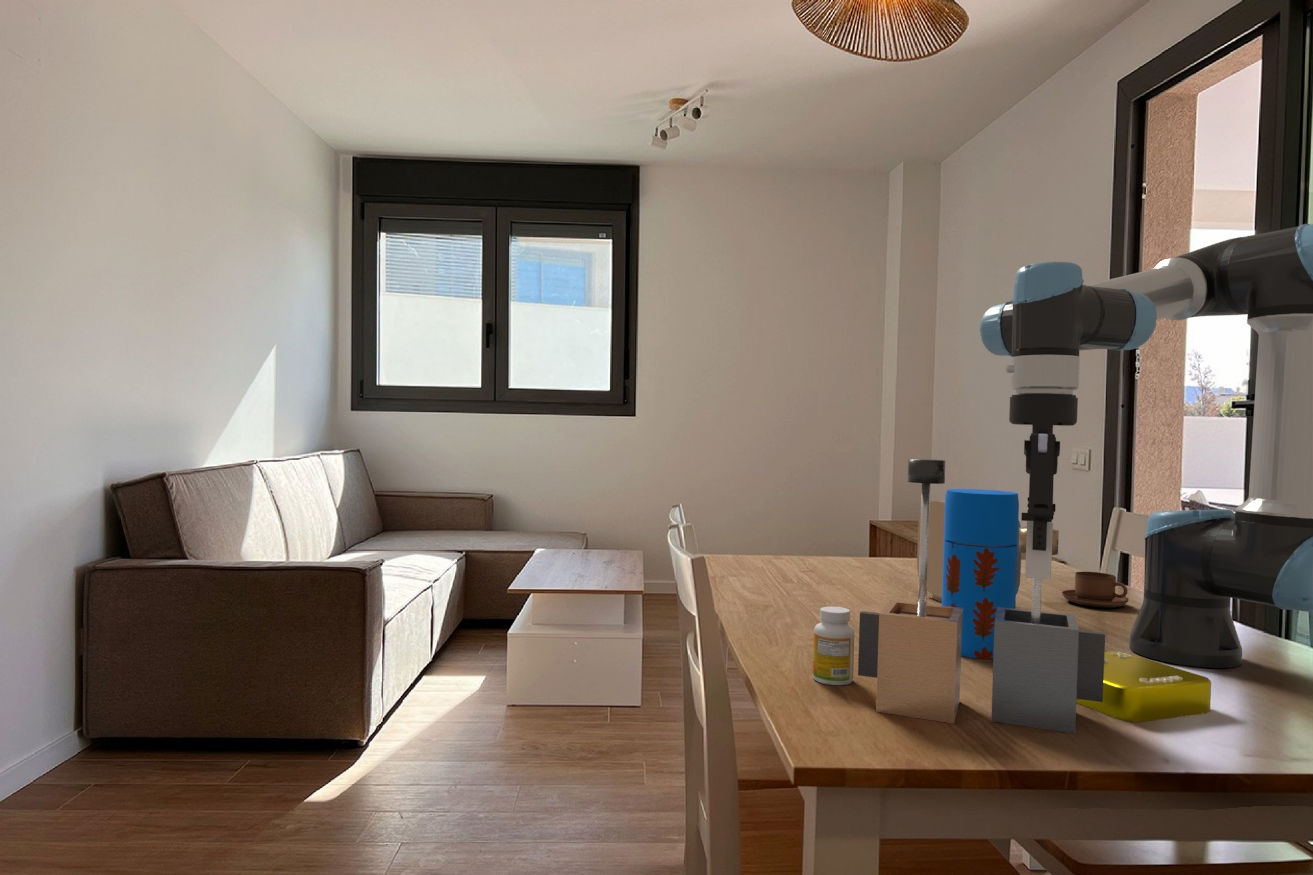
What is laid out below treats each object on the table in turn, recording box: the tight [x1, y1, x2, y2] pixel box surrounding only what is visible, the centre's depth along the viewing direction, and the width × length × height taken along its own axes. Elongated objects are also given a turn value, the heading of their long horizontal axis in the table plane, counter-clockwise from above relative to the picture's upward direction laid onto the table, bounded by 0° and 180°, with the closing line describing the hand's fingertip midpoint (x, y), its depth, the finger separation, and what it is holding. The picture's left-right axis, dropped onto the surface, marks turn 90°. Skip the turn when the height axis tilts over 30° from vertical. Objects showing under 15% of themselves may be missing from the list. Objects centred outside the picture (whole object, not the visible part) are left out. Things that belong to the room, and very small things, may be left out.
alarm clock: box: [916, 493, 1022, 603], centre depth 171 cm, size 21×10×22 cm, turn 15°
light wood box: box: [857, 599, 963, 724], centre depth 108 cm, size 12×9×12 cm
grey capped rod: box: [900, 458, 949, 620], centre depth 107 cm, size 6×6×21 cm
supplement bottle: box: [812, 606, 855, 686], centre depth 118 cm, size 5×5×10 cm
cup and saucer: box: [1061, 571, 1129, 609], centre depth 174 cm, size 12×12×6 cm
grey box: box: [991, 607, 1106, 735], centre depth 104 cm, size 12×9×12 cm
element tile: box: [1076, 650, 1212, 723], centre depth 113 cm, size 15×15×5 cm
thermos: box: [941, 488, 1020, 660], centre depth 135 cm, size 11×11×25 cm
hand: (1037, 570), depth 105 cm, fingers open, 12 cm apart
